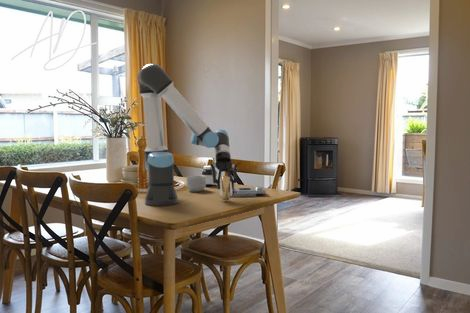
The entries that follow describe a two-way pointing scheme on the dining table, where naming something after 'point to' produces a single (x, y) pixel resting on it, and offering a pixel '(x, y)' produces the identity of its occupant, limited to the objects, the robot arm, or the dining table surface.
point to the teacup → (196, 183)
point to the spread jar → (209, 176)
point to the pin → (225, 187)
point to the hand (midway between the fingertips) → (226, 194)
